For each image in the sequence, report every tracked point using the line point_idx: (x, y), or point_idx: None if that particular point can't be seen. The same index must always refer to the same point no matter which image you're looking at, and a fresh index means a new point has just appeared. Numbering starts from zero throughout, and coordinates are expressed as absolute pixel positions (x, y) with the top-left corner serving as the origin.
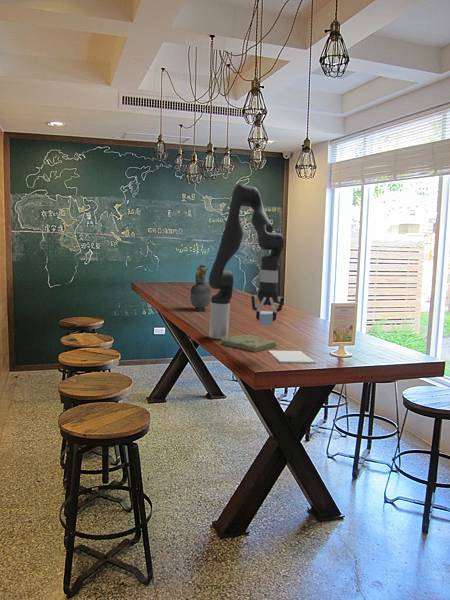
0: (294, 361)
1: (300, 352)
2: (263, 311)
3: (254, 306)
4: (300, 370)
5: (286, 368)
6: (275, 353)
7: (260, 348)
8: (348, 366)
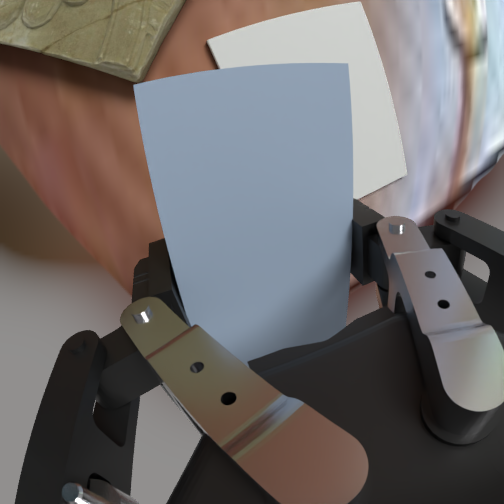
0: None
1: (362, 29)
2: (204, 130)
3: (127, 425)
4: (349, 289)
5: None
6: None
7: (162, 38)
8: (471, 170)
